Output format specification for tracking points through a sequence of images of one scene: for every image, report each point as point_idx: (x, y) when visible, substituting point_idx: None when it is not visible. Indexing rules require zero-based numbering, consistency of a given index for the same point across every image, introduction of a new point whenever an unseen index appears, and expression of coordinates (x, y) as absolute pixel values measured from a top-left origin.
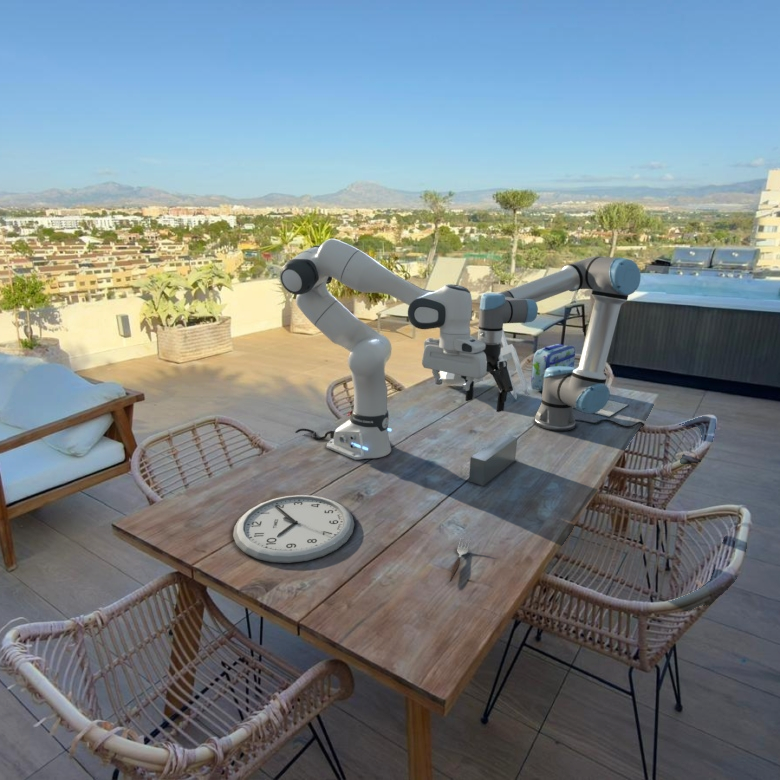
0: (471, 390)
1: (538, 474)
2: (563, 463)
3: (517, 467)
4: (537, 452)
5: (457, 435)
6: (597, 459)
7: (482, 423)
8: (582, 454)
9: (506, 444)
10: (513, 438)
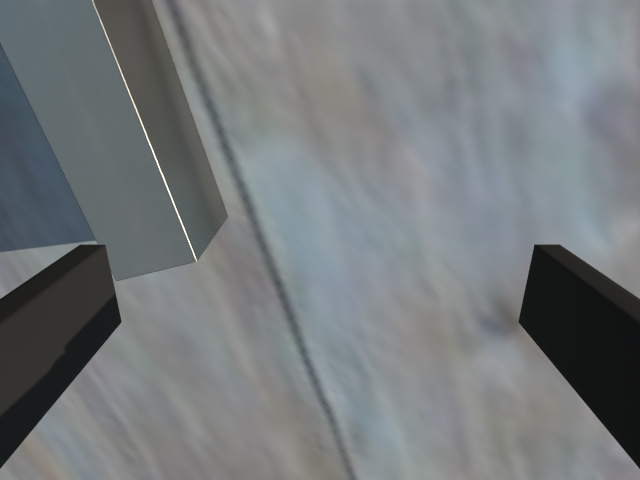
0: (591, 371)
1: (11, 201)
2: None
3: None
4: (180, 359)
5: (526, 235)
6: (29, 461)
7: (524, 412)
8: (85, 457)
9: (57, 146)
10: (116, 255)
